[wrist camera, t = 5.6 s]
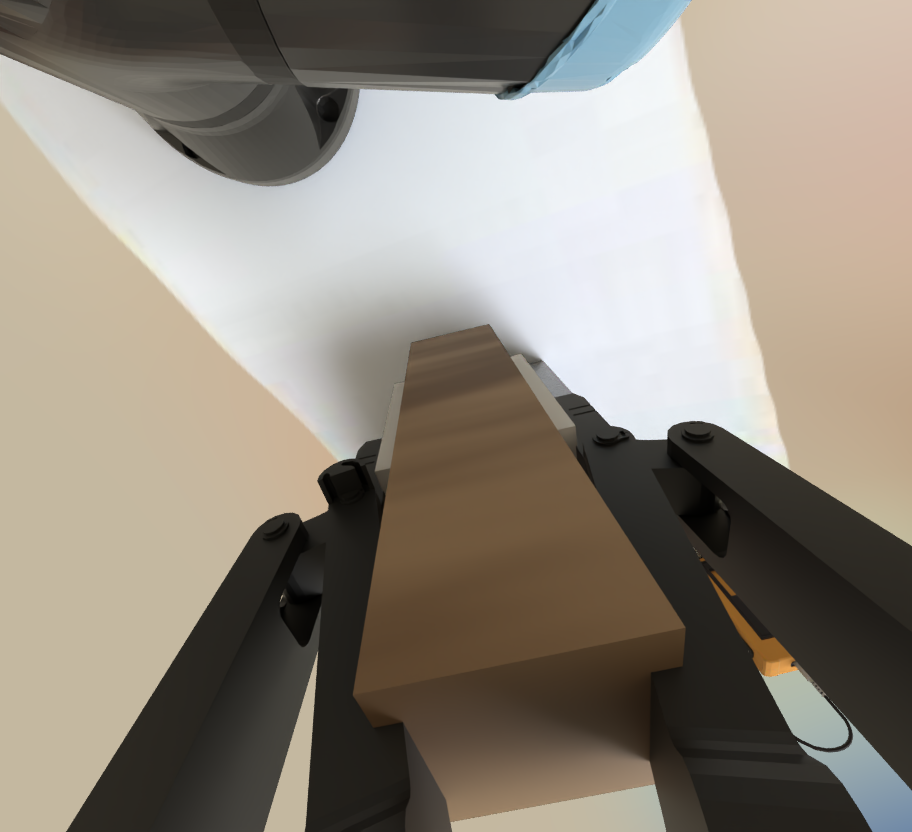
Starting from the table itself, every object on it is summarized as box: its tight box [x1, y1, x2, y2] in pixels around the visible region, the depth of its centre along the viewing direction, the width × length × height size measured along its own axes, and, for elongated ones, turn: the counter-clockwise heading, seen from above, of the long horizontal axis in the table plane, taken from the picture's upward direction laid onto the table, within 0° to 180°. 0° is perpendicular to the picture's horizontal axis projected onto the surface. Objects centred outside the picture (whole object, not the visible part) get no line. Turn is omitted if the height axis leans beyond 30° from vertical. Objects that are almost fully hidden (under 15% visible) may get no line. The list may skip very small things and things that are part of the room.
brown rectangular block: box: [353, 324, 686, 822], centre depth 12 cm, size 4×4×16 cm
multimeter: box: [700, 558, 853, 752], centre depth 42 cm, size 15×10×20 cm
